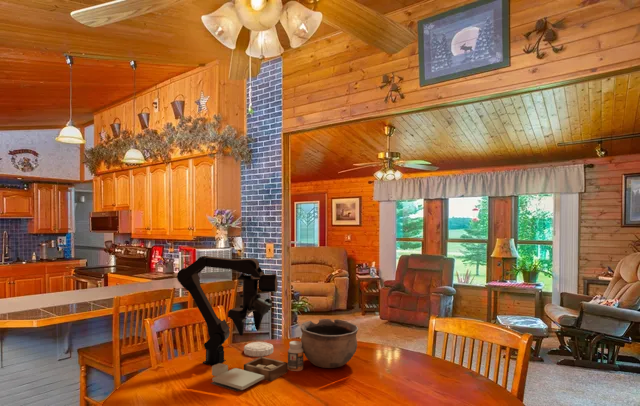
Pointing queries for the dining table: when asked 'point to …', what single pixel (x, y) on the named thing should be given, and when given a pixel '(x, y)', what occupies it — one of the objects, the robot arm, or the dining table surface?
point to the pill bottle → (295, 356)
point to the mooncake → (258, 349)
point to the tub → (268, 374)
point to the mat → (225, 386)
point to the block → (270, 367)
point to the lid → (234, 376)
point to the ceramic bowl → (329, 342)
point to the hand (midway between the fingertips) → (249, 332)
